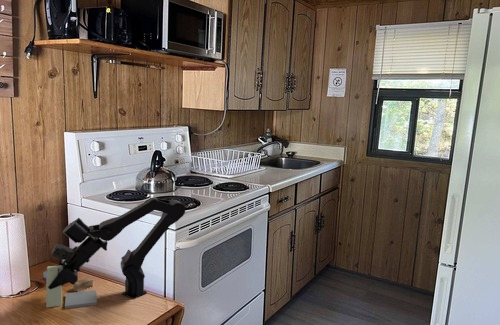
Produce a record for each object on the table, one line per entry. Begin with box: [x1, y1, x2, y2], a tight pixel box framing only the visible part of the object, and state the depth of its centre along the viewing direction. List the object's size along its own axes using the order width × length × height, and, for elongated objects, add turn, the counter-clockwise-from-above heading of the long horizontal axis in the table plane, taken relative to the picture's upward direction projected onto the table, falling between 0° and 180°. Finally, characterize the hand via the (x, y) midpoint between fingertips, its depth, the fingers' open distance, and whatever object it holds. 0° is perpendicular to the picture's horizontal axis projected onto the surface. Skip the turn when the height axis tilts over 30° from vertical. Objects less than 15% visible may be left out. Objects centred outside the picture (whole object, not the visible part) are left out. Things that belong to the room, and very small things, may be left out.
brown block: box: [72, 277, 94, 292], centre depth 147 cm, size 6×3×3 cm, turn 142°
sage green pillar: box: [45, 265, 63, 308], centre depth 133 cm, size 4×4×12 cm
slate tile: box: [64, 289, 98, 310], centre depth 137 cm, size 10×10×1 cm
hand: (49, 285), depth 132 cm, fingers closed on sage green pillar, 4 cm apart
